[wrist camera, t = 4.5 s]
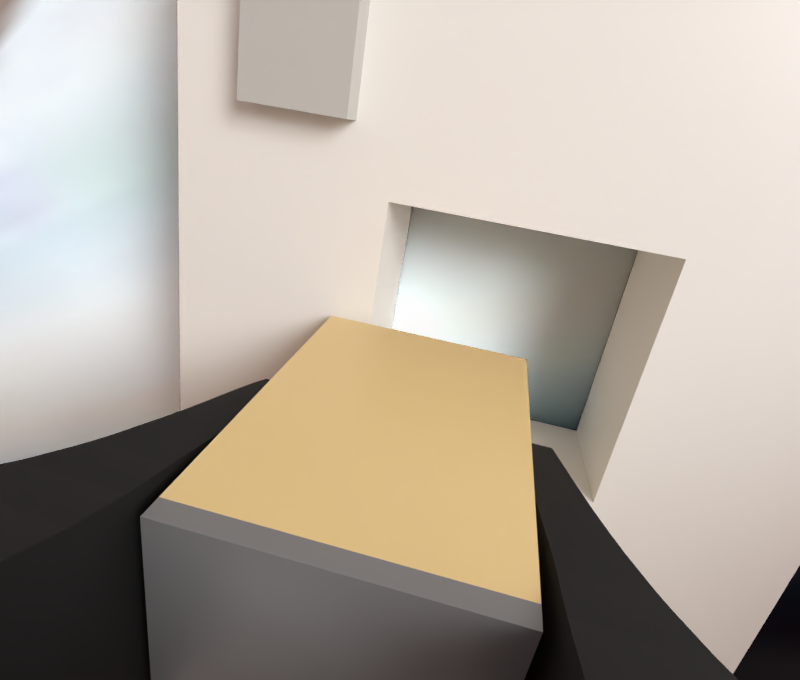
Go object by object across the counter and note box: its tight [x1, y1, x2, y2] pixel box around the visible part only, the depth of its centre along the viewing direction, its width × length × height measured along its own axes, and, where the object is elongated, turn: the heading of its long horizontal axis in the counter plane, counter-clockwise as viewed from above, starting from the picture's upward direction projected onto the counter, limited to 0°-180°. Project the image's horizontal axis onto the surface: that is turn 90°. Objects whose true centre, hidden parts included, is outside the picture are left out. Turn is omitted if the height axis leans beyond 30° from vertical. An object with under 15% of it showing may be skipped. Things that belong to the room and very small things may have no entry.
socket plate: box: [177, 0, 800, 674], centre depth 12 cm, size 14×16×4 cm
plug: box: [140, 316, 543, 680], centre depth 8 cm, size 4×4×6 cm
